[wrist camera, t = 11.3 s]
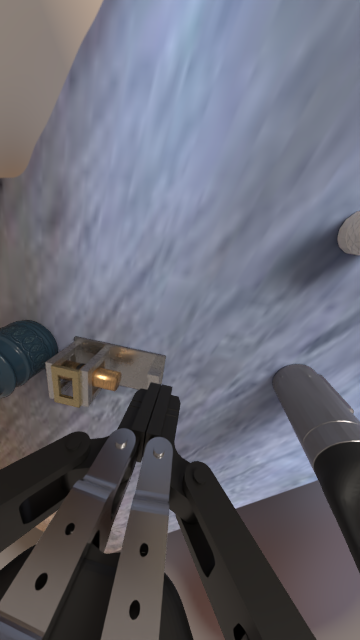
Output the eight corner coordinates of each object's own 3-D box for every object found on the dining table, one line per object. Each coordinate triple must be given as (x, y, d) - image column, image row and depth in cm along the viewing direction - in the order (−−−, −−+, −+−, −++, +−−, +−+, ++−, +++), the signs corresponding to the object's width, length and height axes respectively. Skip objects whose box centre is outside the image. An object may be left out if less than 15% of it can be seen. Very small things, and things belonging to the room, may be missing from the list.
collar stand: (165, 355, 43) (155, 385, 34) (160, 392, 47) (148, 427, 38) (75, 336, 44) (41, 359, 35) (77, 373, 49) (46, 403, 39)
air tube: (122, 367, 42) (113, 380, 38) (121, 382, 43) (112, 395, 40) (67, 355, 43) (53, 366, 39) (68, 370, 44) (55, 382, 40)
